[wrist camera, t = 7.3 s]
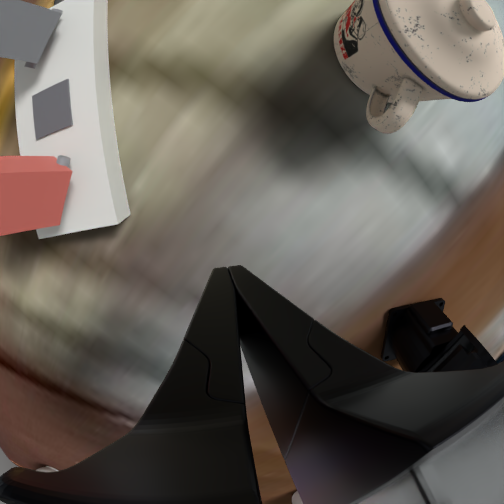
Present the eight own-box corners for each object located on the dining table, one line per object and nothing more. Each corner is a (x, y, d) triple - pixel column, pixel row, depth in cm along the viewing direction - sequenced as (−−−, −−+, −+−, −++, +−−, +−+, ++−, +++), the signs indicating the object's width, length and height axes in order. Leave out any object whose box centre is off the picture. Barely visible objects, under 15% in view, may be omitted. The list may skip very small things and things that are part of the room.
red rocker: (79, 165, 16) (-52, 170, 8) (64, 229, 18) (-53, 253, 9) (60, 151, 17) (-56, 152, 8) (46, 210, 18) (-60, 227, 10)
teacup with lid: (351, -15, 14) (417, -89, 4) (442, 45, 16) (540, 22, 5) (294, 101, 18) (348, 65, 8) (398, 159, 20) (506, 192, 9)
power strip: (130, 214, 21) (117, 225, 19) (54, 229, 22) (37, 240, 19) (110, -49, 12) (99, -61, 9) (38, -13, 12) (23, -20, 10)
